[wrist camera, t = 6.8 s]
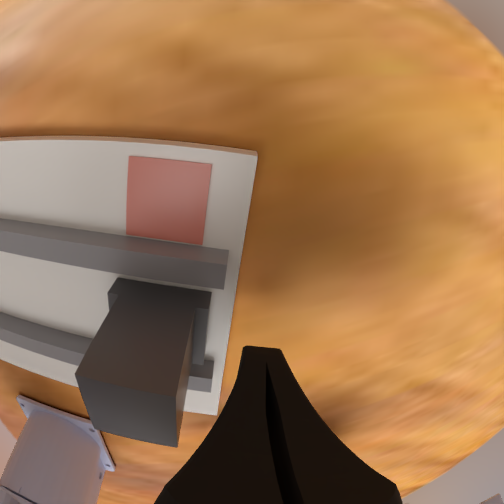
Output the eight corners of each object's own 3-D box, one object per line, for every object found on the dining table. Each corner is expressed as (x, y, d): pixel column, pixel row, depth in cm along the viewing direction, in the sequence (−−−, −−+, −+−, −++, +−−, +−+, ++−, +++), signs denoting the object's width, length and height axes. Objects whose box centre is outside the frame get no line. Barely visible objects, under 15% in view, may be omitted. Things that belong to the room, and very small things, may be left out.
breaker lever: (205, 346, 14) (192, 449, 9) (122, 332, 13) (81, 424, 8) (211, 292, 12) (194, 399, 8) (117, 277, 12) (60, 369, 7)
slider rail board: (218, 396, 17) (215, 431, 15) (-15, 335, 16) (-33, 357, 14) (256, 151, 12) (259, 161, 9) (-53, 142, 10) (-84, 152, 8)
